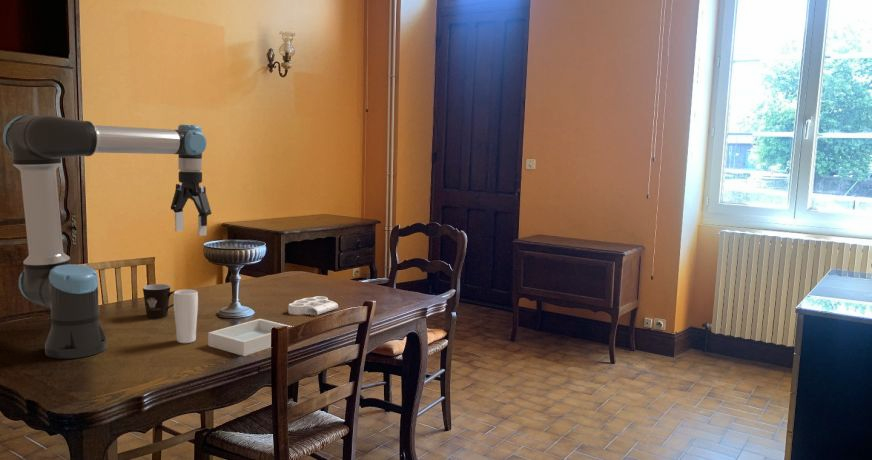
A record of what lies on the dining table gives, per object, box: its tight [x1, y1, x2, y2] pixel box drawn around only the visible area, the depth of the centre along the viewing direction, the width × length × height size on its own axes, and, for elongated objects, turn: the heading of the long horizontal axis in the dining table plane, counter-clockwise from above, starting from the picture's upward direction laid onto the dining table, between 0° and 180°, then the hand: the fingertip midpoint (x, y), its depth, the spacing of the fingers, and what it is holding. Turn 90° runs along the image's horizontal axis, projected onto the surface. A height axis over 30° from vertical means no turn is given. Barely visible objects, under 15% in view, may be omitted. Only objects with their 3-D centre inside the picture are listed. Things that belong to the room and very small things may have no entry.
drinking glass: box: [173, 289, 199, 344], centre depth 198 cm, size 7×7×15 cm
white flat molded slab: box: [287, 295, 339, 317], centre depth 240 cm, size 3×18×15 cm
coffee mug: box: [142, 283, 175, 320], centre depth 223 cm, size 12×9×10 cm
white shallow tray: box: [207, 318, 292, 357], centre depth 199 cm, size 20×15×4 cm
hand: (190, 233), depth 229 cm, fingers open, 13 cm apart
